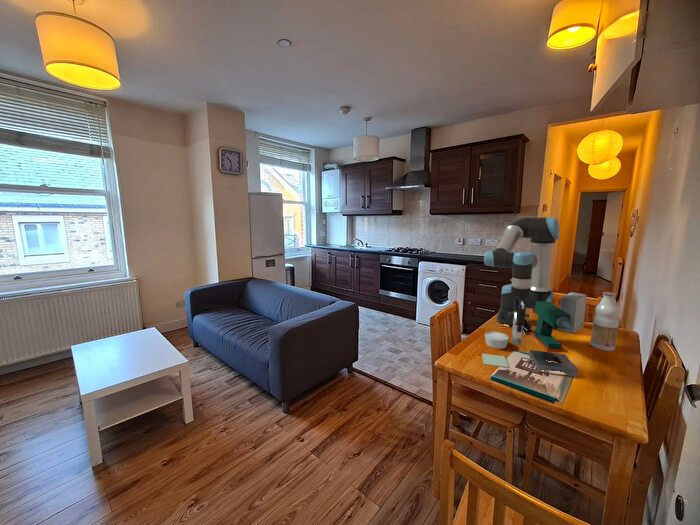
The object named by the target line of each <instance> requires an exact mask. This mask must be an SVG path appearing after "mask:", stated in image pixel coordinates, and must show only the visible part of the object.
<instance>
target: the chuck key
mask: <svg viewBox="0 0 700 525" xmlns="http://www.w3.org/2000/svg"><path fill="white" fill-rule="evenodd" d="M508 315H509V316H513V325H512V330H511V332H512V333H511V341H510V342H511V344H513V345H514V346H521V345H522V343H523V342H522V340H523V338H522V339H520V338H515V323H516V320H517V311H514V313H512V312H508ZM526 318H527V319H528V318H530V314H529V313H526V312H525V319H526ZM523 330H524V327H523V328H522V331H523Z"/></svg>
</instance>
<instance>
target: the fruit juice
mask: <svg viewBox="0 0 700 525" xmlns="http://www.w3.org/2000/svg"><path fill="white" fill-rule="evenodd" d="M602 296H603V297H602V299H601V300H600V302H599V303H598V304H596V307H595V309H594V311H595V316H593V320H592V321H593V322H592V327H591V328H592V329H591V336H590V345H591V347H593V348H595V349H597V350H601V351H607V352H612V351H614V350H615V349H616V345H617V339H618V338H617V337H618V331H619V326H620V325H619V319H618V318H619V316H620V314H621V309H620V308H619V307H618V303H617V301H616V297H617V293H614V292H612V291H611V292H610V291H609V292H608V291H603V292H602Z"/></svg>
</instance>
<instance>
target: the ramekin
mask: <svg viewBox="0 0 700 525" xmlns="http://www.w3.org/2000/svg"><path fill="white" fill-rule="evenodd" d="M484 338H485V343H486V345H487V346H488V347H490V348H493V349H495V350H496V349H497V350H503V349H506V347H507V346H508V342H509V340H510V338H509V335H507V334H506V333H502V332H499V331H486V332H485V333H484Z"/></svg>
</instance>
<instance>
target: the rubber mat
mask: <svg viewBox="0 0 700 525" xmlns="http://www.w3.org/2000/svg"><path fill="white" fill-rule="evenodd" d="M481 357H482V362H483V365H485V366H493V367H500V368H506V367H509V364H508V362H507V359H506V357H505V356H504V355H497V354H496V355H495V354H487V353H481Z"/></svg>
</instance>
